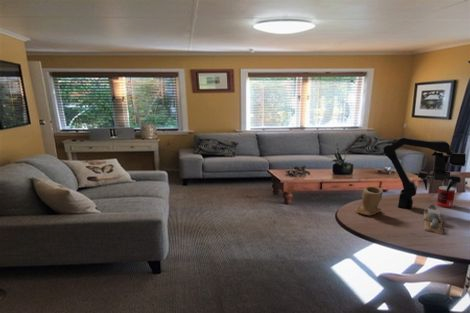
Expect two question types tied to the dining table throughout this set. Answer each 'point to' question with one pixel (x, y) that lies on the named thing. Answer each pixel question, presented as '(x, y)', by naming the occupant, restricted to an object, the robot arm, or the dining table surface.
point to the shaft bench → (427, 226)
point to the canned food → (445, 197)
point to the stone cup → (370, 201)
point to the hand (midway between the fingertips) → (436, 191)
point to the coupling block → (433, 214)
